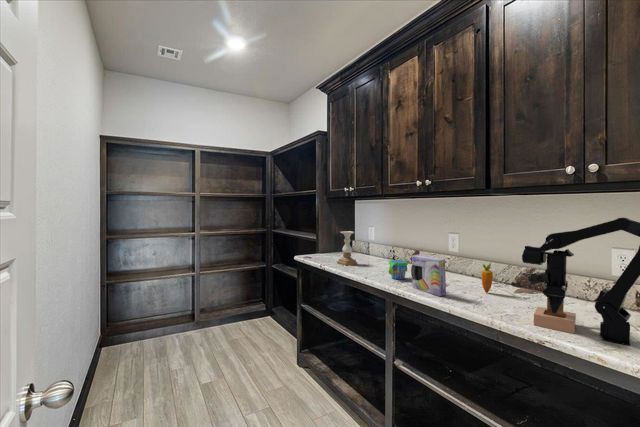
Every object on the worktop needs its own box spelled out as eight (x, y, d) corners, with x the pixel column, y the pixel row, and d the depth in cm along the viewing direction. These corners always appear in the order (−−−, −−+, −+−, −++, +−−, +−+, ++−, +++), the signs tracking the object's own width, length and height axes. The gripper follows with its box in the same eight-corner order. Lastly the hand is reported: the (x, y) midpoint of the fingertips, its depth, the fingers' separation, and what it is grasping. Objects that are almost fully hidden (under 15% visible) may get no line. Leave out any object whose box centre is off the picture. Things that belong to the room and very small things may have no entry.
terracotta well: (575, 324, 114) (575, 313, 114) (574, 333, 105) (574, 322, 105) (537, 316, 121) (537, 306, 121) (533, 325, 113) (533, 314, 113)
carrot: (480, 293, 153) (481, 263, 153) (481, 291, 158) (482, 261, 157) (491, 295, 151) (492, 264, 150) (492, 292, 155) (493, 262, 154)
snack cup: (399, 275, 192) (400, 258, 192) (413, 278, 184) (414, 261, 183) (382, 278, 183) (382, 261, 183) (395, 282, 175) (396, 264, 174)
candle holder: (357, 264, 226) (357, 232, 225) (345, 266, 220) (345, 232, 219) (348, 262, 235) (348, 230, 235) (336, 263, 229) (336, 231, 229)
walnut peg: (562, 324, 113) (563, 297, 113) (562, 328, 110) (562, 300, 110) (547, 321, 116) (548, 295, 116) (546, 324, 113) (547, 297, 113)
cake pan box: (410, 287, 163) (410, 254, 163) (417, 286, 166) (417, 253, 165) (439, 297, 146) (439, 260, 146) (446, 296, 149) (447, 259, 148)
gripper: (533, 261, 125) (532, 299, 125) (526, 267, 111) (524, 311, 111) (568, 264, 118) (567, 305, 118) (565, 272, 104) (564, 318, 104)
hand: (555, 309), depth 113 cm, fingers open, 9 cm apart
